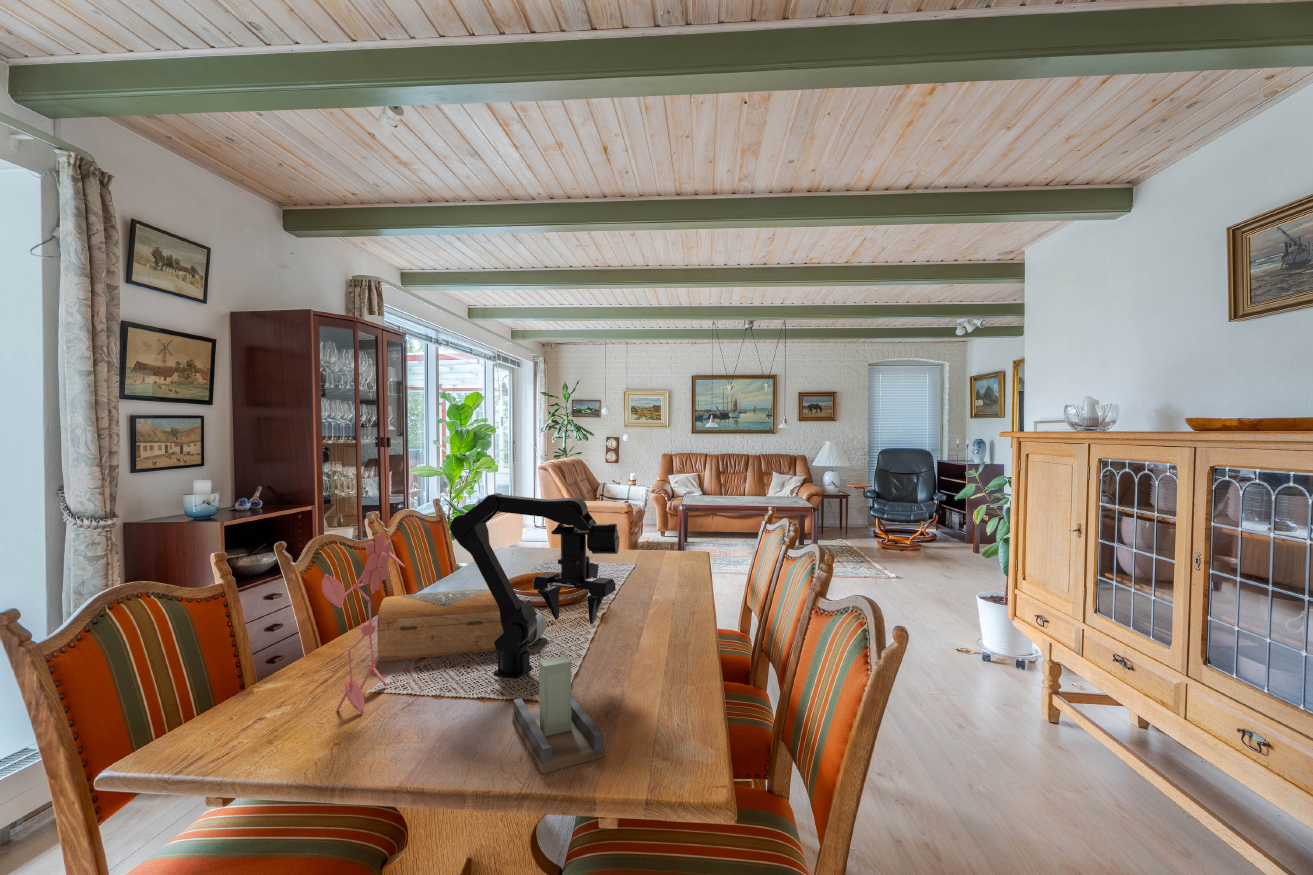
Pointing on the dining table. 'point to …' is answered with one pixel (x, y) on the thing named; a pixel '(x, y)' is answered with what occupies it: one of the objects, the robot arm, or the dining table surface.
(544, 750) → the door track
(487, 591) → the wooden box
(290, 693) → the dining table surface
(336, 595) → the pink leafy branch
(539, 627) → the ceramic mug
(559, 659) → the sage green panelled box
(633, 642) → the dining table surface
